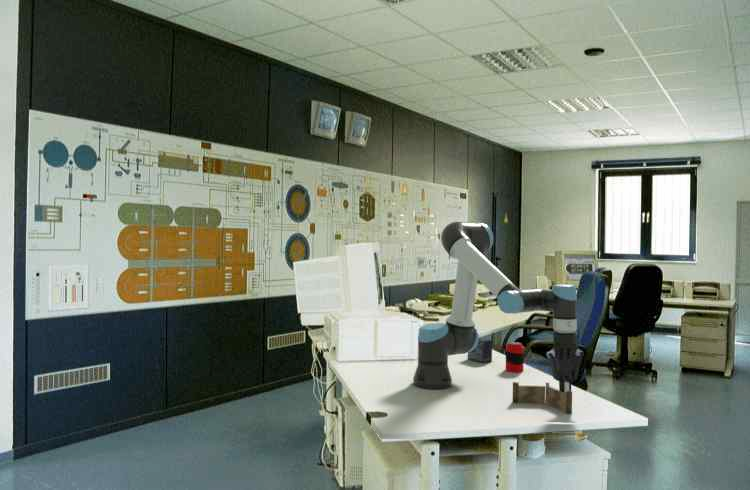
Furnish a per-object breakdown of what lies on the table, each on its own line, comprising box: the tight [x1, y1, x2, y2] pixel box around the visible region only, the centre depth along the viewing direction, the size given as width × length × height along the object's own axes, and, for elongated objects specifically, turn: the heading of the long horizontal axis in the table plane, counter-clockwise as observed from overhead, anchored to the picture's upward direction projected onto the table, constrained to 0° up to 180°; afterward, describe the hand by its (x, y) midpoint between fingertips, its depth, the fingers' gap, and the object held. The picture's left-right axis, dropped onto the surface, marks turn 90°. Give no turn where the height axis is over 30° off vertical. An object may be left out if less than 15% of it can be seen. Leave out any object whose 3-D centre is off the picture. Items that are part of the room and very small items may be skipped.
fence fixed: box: [512, 381, 546, 404], centre depth 193 cm, size 11×2×7 cm, turn 89°
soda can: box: [505, 341, 525, 373], centre depth 242 cm, size 8×8×12 cm
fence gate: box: [544, 382, 573, 415], centre depth 187 cm, size 13×2×7 cm, turn 18°
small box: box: [467, 337, 493, 364], centre depth 262 cm, size 11×6×10 cm, turn 34°
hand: (565, 401), depth 185 cm, fingers closed
